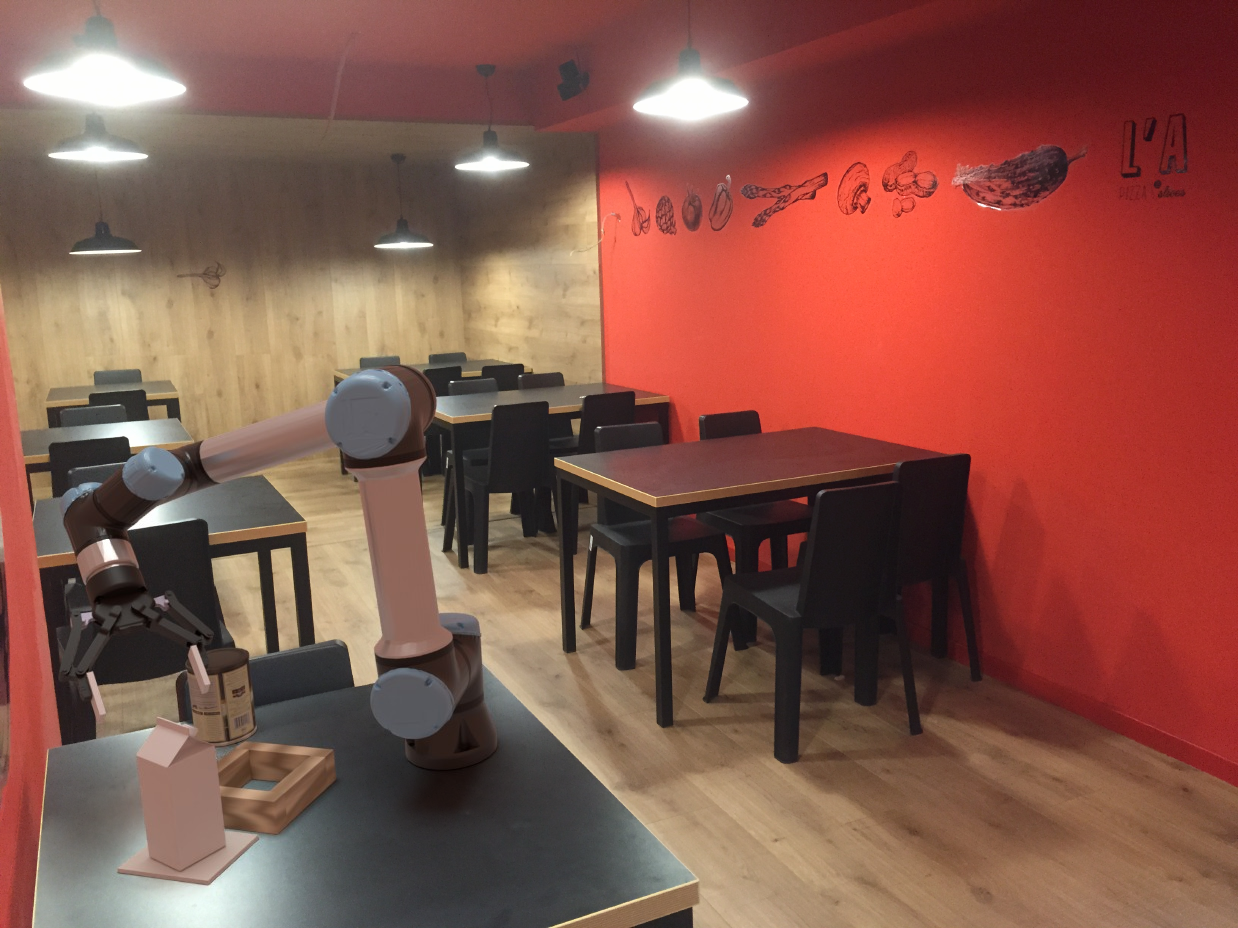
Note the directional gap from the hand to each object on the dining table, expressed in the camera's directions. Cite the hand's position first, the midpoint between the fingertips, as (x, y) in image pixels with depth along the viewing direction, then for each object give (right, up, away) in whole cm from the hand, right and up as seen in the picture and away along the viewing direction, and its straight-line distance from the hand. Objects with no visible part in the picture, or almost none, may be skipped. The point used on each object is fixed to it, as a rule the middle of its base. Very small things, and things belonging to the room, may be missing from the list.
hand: (156, 703), depth 134 cm
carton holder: (+10, -18, +13) cm, 24 cm away
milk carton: (+5, -20, -1) cm, 21 cm away
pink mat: (+5, -21, -1) cm, 21 cm away
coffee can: (-5, -14, +36) cm, 39 cm away
